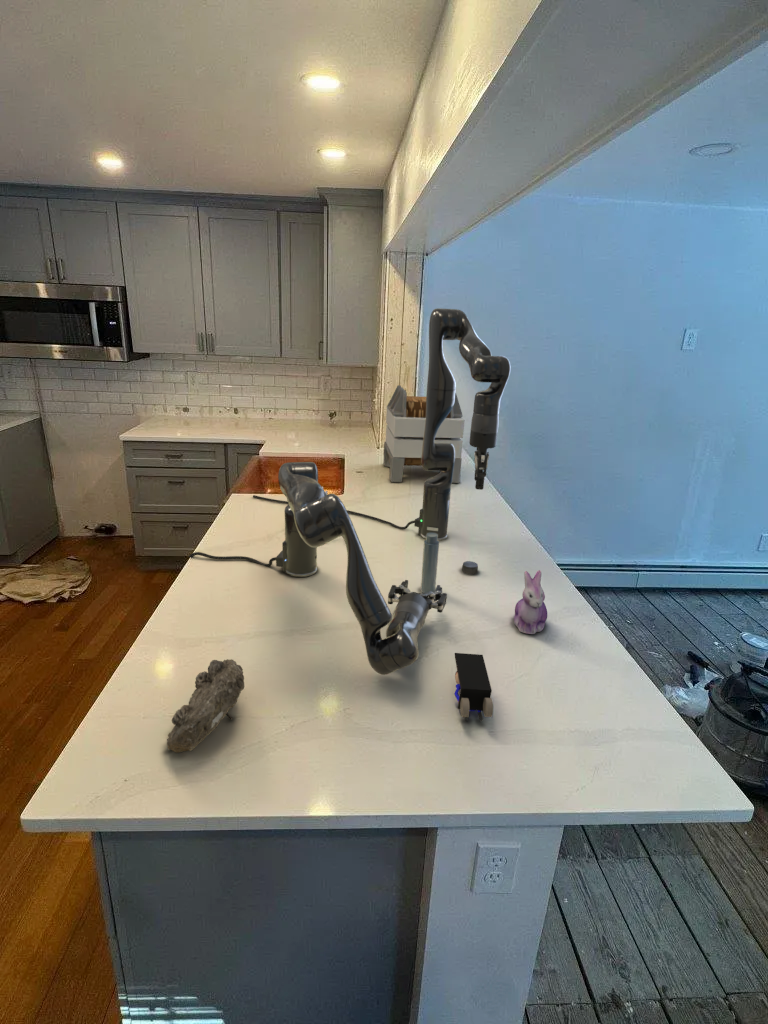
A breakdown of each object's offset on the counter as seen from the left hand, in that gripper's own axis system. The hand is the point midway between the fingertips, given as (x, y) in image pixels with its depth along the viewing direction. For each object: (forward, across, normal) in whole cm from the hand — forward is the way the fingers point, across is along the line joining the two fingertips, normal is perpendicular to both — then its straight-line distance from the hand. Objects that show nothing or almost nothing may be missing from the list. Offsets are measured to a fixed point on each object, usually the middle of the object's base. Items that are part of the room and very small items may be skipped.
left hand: (422, 585), depth 148 cm
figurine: (0, -28, +7) cm, 29 cm away
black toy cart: (-35, -17, +7) cm, 40 cm away
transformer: (+130, +26, +6) cm, 132 cm away
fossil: (-54, +30, +7) cm, 62 cm away
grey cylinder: (+11, 0, +7) cm, 13 cm away
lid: (+27, -10, +5) cm, 29 cm away
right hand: (+27, -10, -21) cm, 36 cm away
